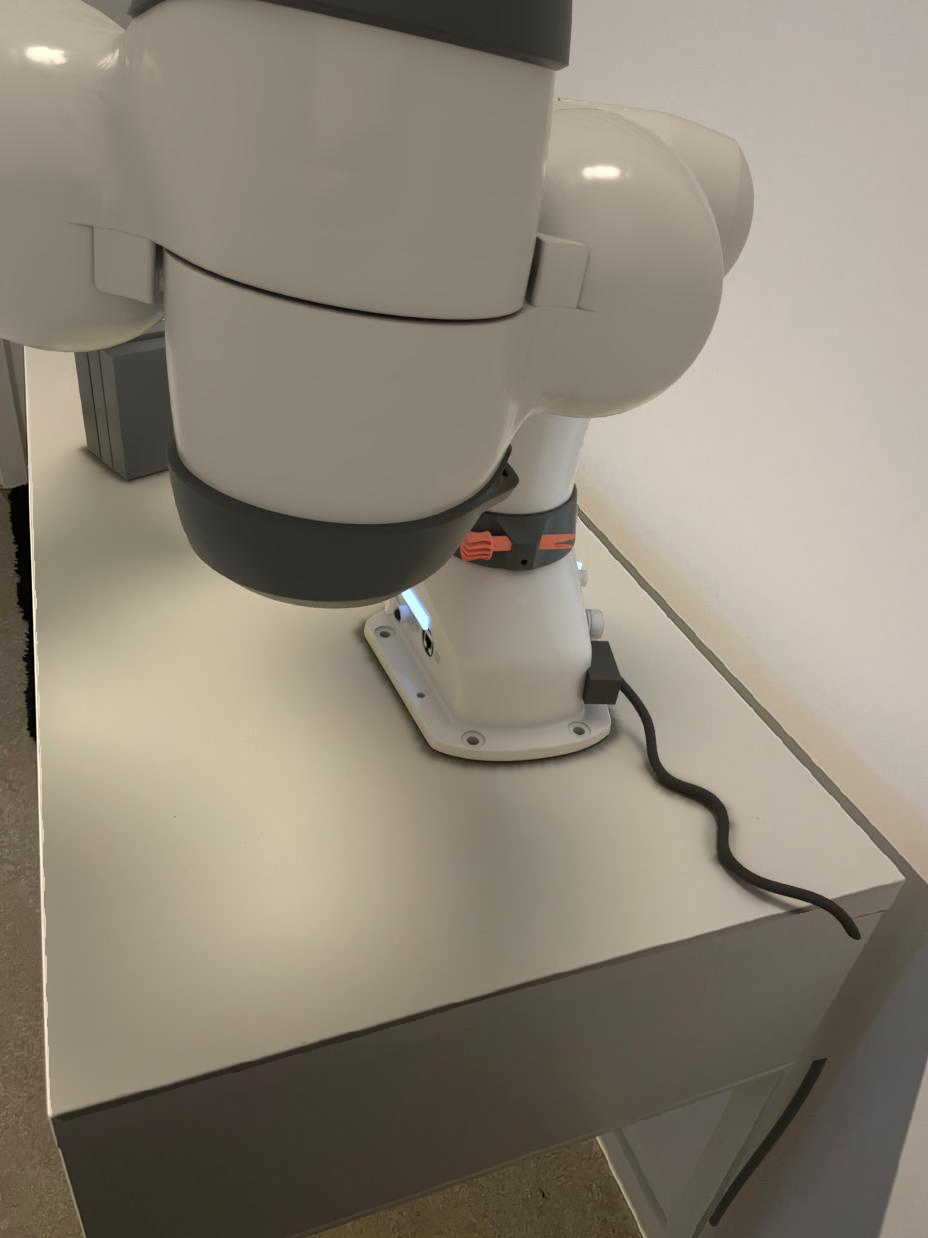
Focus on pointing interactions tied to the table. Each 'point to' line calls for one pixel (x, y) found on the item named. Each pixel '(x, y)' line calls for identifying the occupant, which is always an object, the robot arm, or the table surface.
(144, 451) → the grey books
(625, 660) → the table surface
